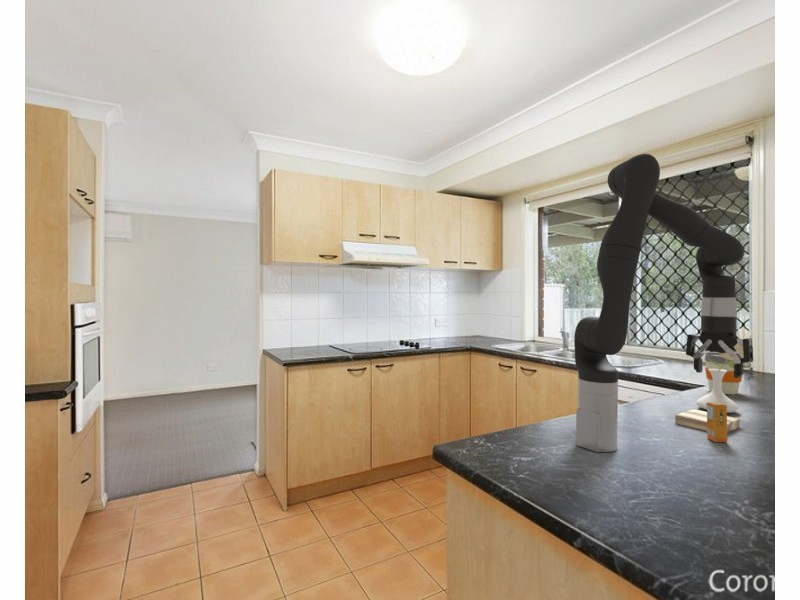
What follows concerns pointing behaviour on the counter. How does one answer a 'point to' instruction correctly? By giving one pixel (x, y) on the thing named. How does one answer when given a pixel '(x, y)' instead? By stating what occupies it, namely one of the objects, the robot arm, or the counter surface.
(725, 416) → the supplement box
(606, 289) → the robot arm
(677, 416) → the birch base
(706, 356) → the reusable coffee cup
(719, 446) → the counter surface
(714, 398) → the flower in vase
